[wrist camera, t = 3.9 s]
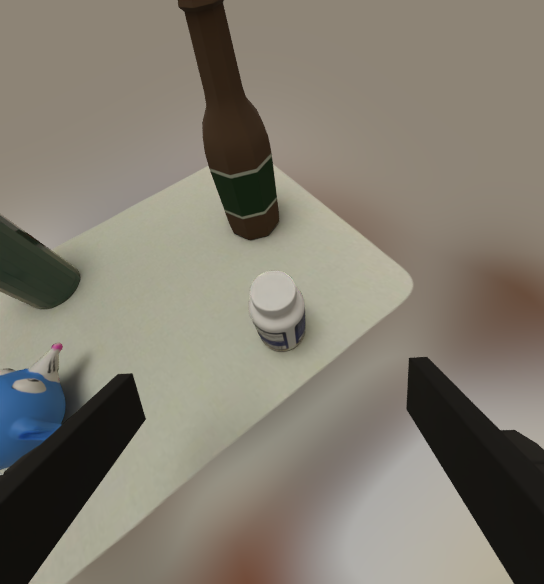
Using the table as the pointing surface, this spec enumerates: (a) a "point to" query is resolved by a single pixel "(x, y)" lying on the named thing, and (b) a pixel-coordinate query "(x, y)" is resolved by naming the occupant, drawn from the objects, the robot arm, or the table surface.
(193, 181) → the table surface
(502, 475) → the robot arm
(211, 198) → the table surface
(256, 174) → the beer bottle
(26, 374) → the blue mole toy
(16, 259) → the cup
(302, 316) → the pill bottle
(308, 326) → the table surface
